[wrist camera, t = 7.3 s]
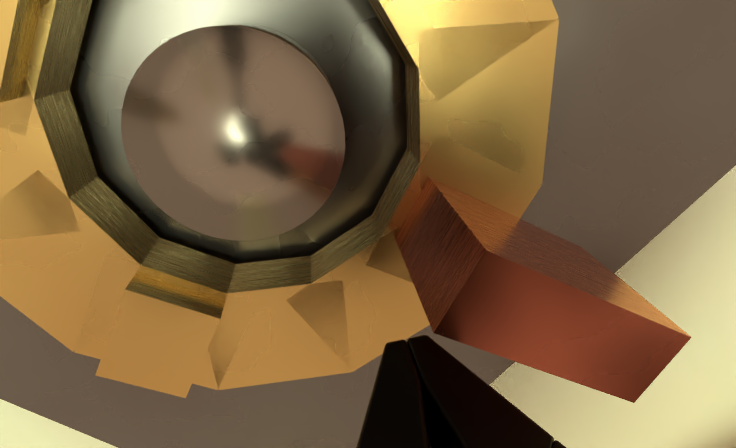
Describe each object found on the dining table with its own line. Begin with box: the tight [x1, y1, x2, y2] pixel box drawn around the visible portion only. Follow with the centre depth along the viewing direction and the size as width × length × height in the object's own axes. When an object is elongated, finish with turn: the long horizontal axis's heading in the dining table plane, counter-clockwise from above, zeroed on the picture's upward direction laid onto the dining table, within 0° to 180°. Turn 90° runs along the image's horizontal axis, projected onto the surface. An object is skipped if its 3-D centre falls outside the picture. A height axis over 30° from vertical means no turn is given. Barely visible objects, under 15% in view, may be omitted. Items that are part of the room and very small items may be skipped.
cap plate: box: [0, 0, 736, 448], centre depth 10 cm, size 22×22×4 cm
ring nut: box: [0, 0, 691, 403], centre depth 8 cm, size 15×13×5 cm
